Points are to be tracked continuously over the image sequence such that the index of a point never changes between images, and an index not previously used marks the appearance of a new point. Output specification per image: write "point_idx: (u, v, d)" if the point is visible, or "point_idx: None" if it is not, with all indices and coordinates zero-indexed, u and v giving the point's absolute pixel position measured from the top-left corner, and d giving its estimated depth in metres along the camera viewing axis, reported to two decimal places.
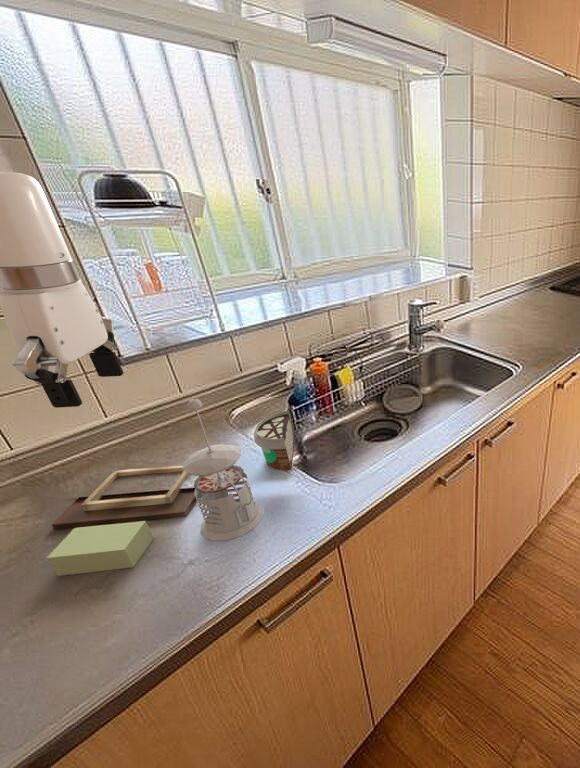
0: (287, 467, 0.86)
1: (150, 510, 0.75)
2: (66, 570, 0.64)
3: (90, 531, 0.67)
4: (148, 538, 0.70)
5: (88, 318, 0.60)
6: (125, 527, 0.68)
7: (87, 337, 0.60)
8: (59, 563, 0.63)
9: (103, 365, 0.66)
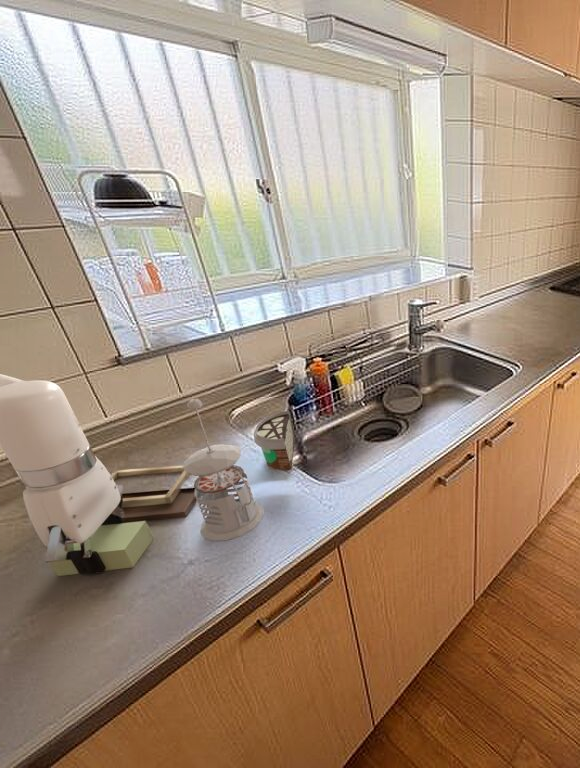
0: (287, 467, 0.86)
1: (150, 510, 0.75)
2: (66, 570, 0.64)
3: None
4: (148, 538, 0.70)
5: (103, 491, 0.64)
6: (125, 527, 0.68)
7: (102, 509, 0.64)
8: (59, 563, 0.63)
9: None
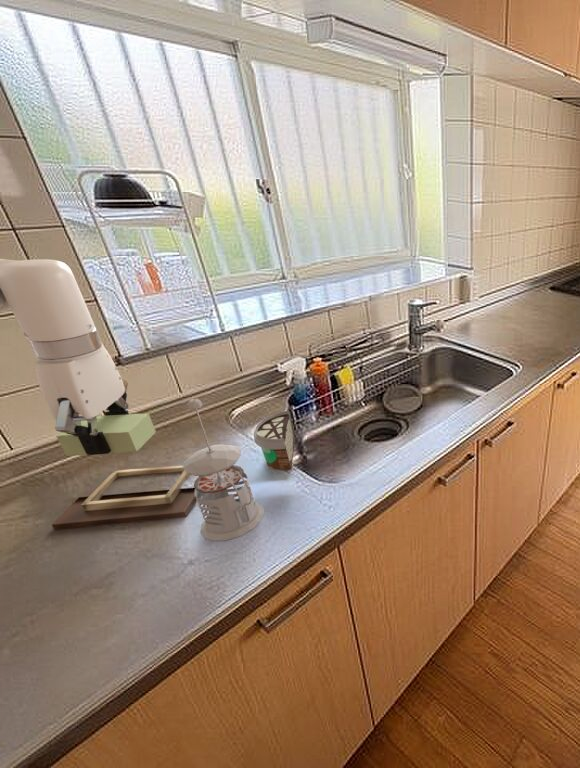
0: (287, 467, 0.86)
1: (150, 510, 0.75)
2: (74, 450, 0.68)
3: None
4: (150, 430, 0.74)
5: (108, 376, 0.69)
6: (129, 417, 0.73)
7: (107, 393, 0.68)
8: (68, 442, 0.68)
9: None
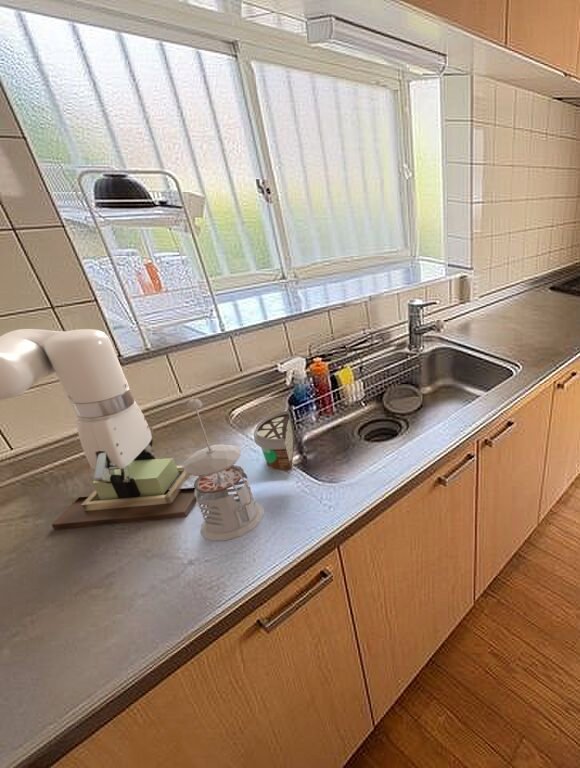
0: (287, 467, 0.86)
1: (150, 510, 0.75)
2: (107, 494, 0.76)
3: None
4: (174, 473, 0.82)
5: (139, 428, 0.76)
6: (156, 462, 0.80)
7: (138, 443, 0.76)
8: (102, 488, 0.75)
9: None
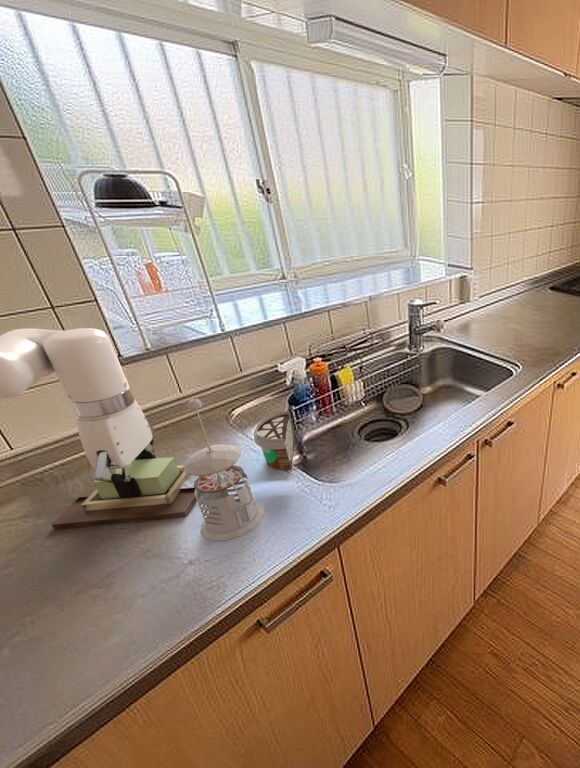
0: (287, 467, 0.86)
1: (150, 510, 0.75)
2: (109, 493, 0.76)
3: None
4: (175, 472, 0.82)
5: (139, 427, 0.76)
6: (157, 461, 0.80)
7: (138, 442, 0.76)
8: (103, 487, 0.75)
9: None
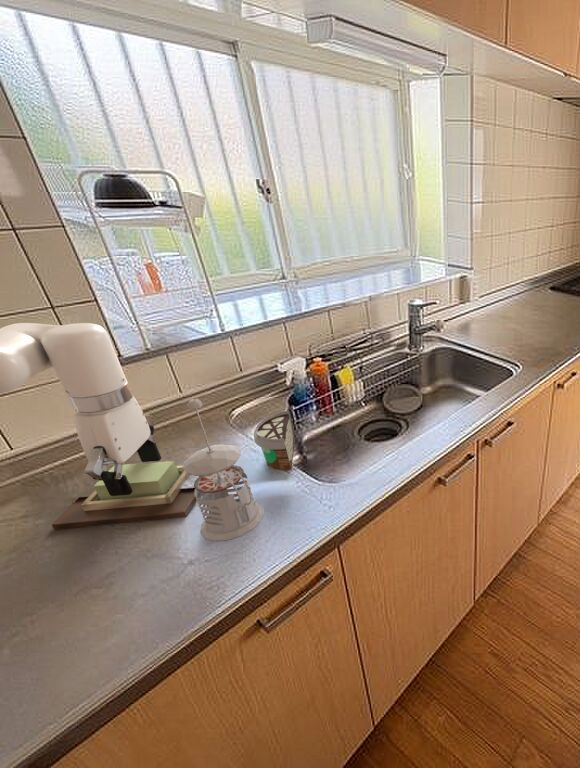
0: (287, 467, 0.86)
1: (150, 510, 0.75)
2: (109, 497, 0.76)
3: (128, 467, 0.79)
4: (176, 476, 0.82)
5: (137, 423, 0.75)
6: (157, 465, 0.80)
7: (136, 438, 0.75)
8: (103, 491, 0.75)
9: (145, 453, 0.81)
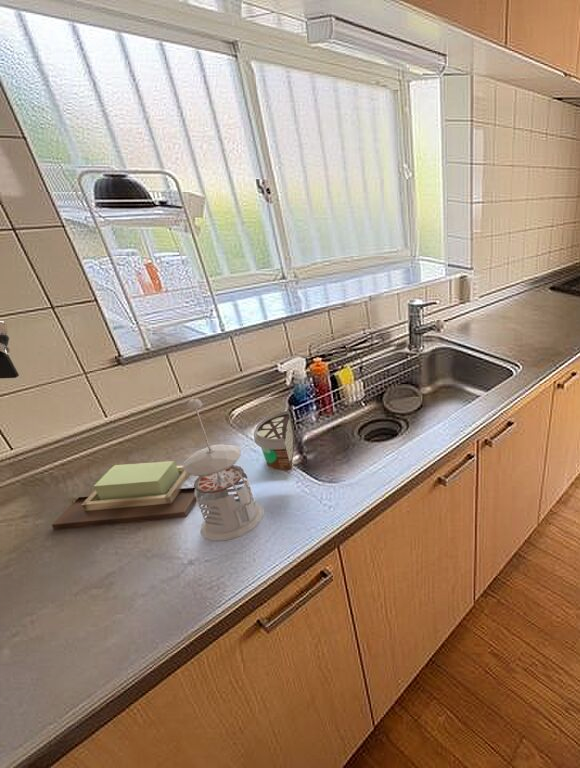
0: (287, 467, 0.86)
1: (150, 510, 0.75)
2: (109, 497, 0.76)
3: (128, 467, 0.79)
4: (176, 476, 0.82)
5: None
6: (157, 465, 0.80)
7: None
8: (103, 491, 0.75)
9: None
